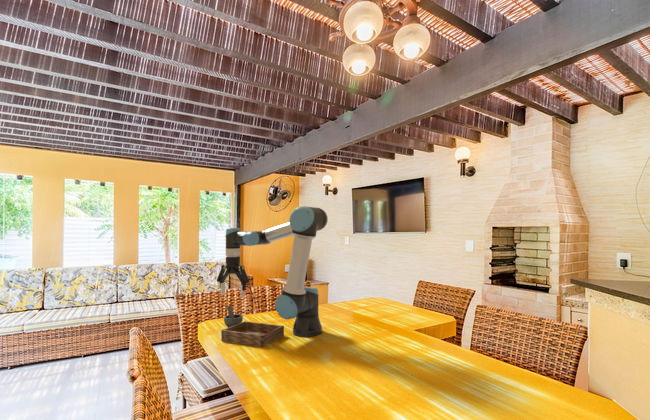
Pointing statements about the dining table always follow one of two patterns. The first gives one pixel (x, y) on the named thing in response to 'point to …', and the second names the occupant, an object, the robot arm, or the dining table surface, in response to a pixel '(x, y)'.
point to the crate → (252, 333)
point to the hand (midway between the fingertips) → (232, 295)
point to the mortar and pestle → (232, 318)
